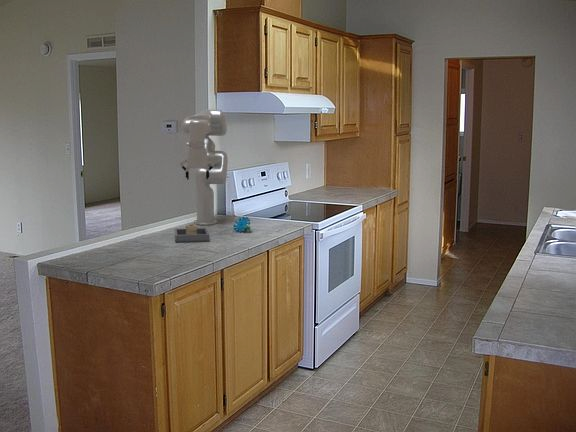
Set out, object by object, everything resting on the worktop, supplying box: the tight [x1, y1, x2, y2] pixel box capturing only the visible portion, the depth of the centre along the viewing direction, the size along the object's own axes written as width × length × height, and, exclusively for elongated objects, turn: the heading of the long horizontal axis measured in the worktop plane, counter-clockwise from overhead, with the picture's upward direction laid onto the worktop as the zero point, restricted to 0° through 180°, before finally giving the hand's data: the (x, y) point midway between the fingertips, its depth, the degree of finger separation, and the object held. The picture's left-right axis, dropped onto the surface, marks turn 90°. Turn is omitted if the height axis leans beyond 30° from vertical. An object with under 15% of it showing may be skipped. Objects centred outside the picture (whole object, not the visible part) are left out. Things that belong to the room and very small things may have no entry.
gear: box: [232, 216, 252, 233], centre depth 327 cm, size 11×6×10 cm
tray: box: [174, 227, 210, 244], centre depth 307 cm, size 16×16×4 cm
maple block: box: [185, 223, 198, 235], centre depth 307 cm, size 5×5×6 cm
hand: (197, 179), depth 314 cm, fingers open, 9 cm apart
